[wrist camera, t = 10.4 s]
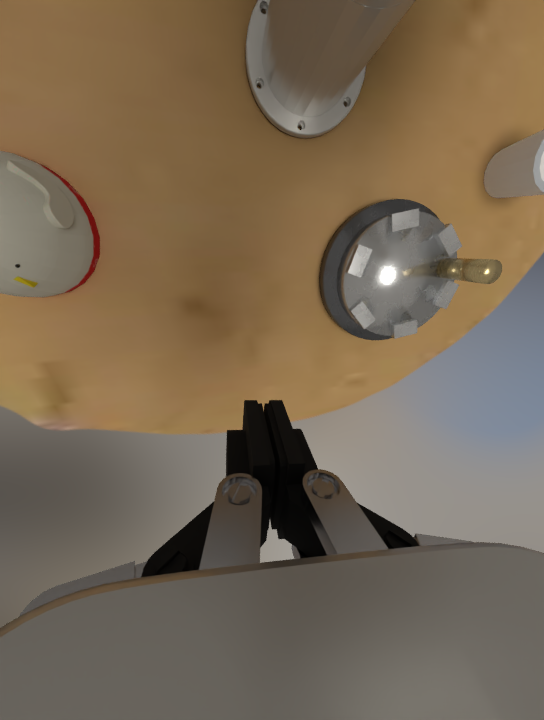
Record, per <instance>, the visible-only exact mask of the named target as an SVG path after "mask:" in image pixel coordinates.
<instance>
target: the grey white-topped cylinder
mask: <svg viewBox="0 0 544 720" xmlns="http://www.w3.org/2000/svg"><path fill="white" fill-rule="evenodd" d="M484 186H485V190H486V192H487V193H488V194H489V195H490V196H491V197H494V198H506V197H519V196H532V195H544V130H542V131H540V132H537V133H535V134H533V135H531V136H529V137H527V138H525V139H523V140H521V141H519V142H516V143H514V144H512V145H510V146H508V147H506V148H504V149H502V150H501V151H499V152H498V153H496V154H495V155H494V156H493V158H492V159H491V160H490V162H489V163H488V165H487V168H486V170H485V173H484Z"/></svg>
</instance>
